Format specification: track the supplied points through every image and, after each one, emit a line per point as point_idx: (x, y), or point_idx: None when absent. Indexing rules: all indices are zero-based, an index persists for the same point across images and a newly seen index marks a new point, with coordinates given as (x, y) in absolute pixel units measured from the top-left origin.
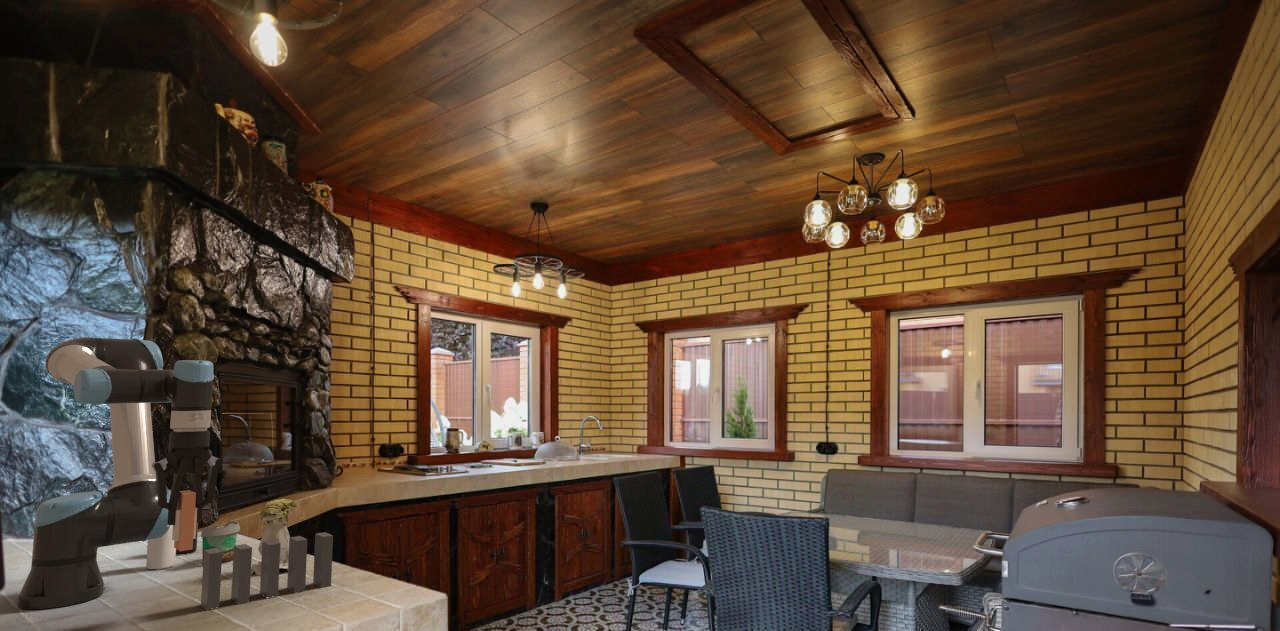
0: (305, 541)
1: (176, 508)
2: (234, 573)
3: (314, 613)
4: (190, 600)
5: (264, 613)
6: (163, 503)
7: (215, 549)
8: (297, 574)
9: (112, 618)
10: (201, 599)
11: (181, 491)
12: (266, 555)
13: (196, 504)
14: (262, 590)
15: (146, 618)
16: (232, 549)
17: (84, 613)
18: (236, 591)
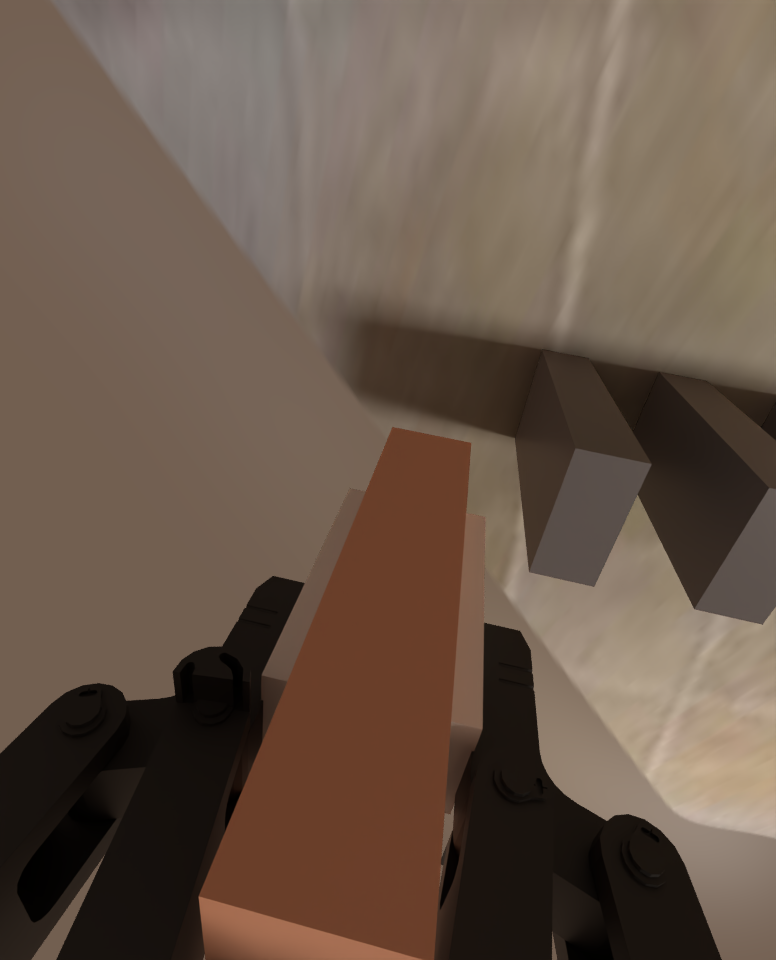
0: None
1: (309, 628)
2: (684, 449)
3: (664, 709)
4: (560, 225)
5: (595, 610)
6: (83, 821)
7: (620, 497)
8: None
9: (259, 235)
10: (543, 361)
11: (258, 936)
12: None
13: (451, 837)
14: (772, 436)
15: (345, 350)
16: None
17: (179, 12)
18: None
